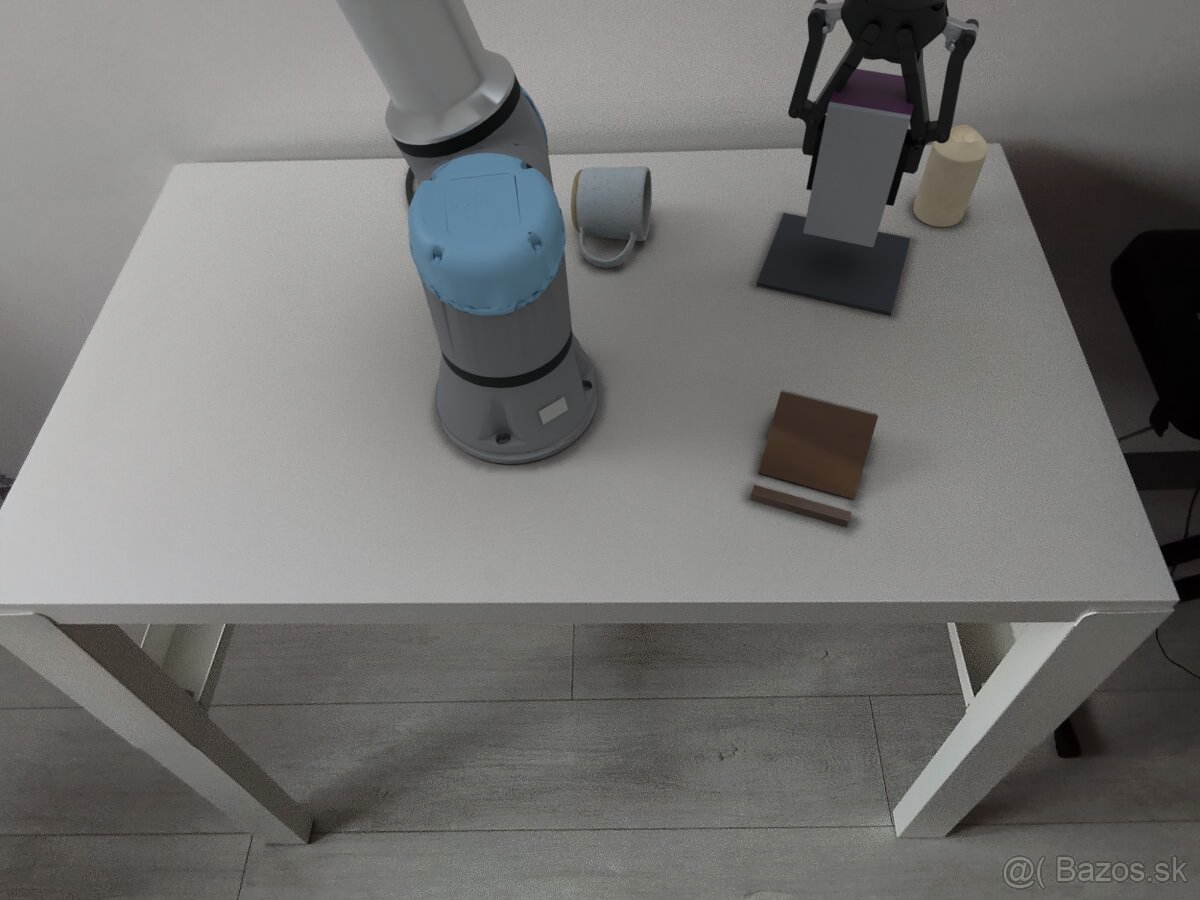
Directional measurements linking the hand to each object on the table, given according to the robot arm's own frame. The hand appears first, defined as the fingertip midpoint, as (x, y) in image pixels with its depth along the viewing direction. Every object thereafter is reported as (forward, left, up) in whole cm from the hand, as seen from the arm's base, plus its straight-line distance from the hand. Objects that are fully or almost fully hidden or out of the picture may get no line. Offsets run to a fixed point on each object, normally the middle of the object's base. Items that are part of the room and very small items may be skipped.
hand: (852, 189), depth 83 cm
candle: (+2, +15, -10) cm, 18 cm away
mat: (0, 0, -10) cm, 10 cm away
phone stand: (+17, -22, -11) cm, 30 cm away
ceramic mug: (-19, -15, -10) cm, 26 cm away
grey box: (-2, +4, -2) cm, 5 cm away
